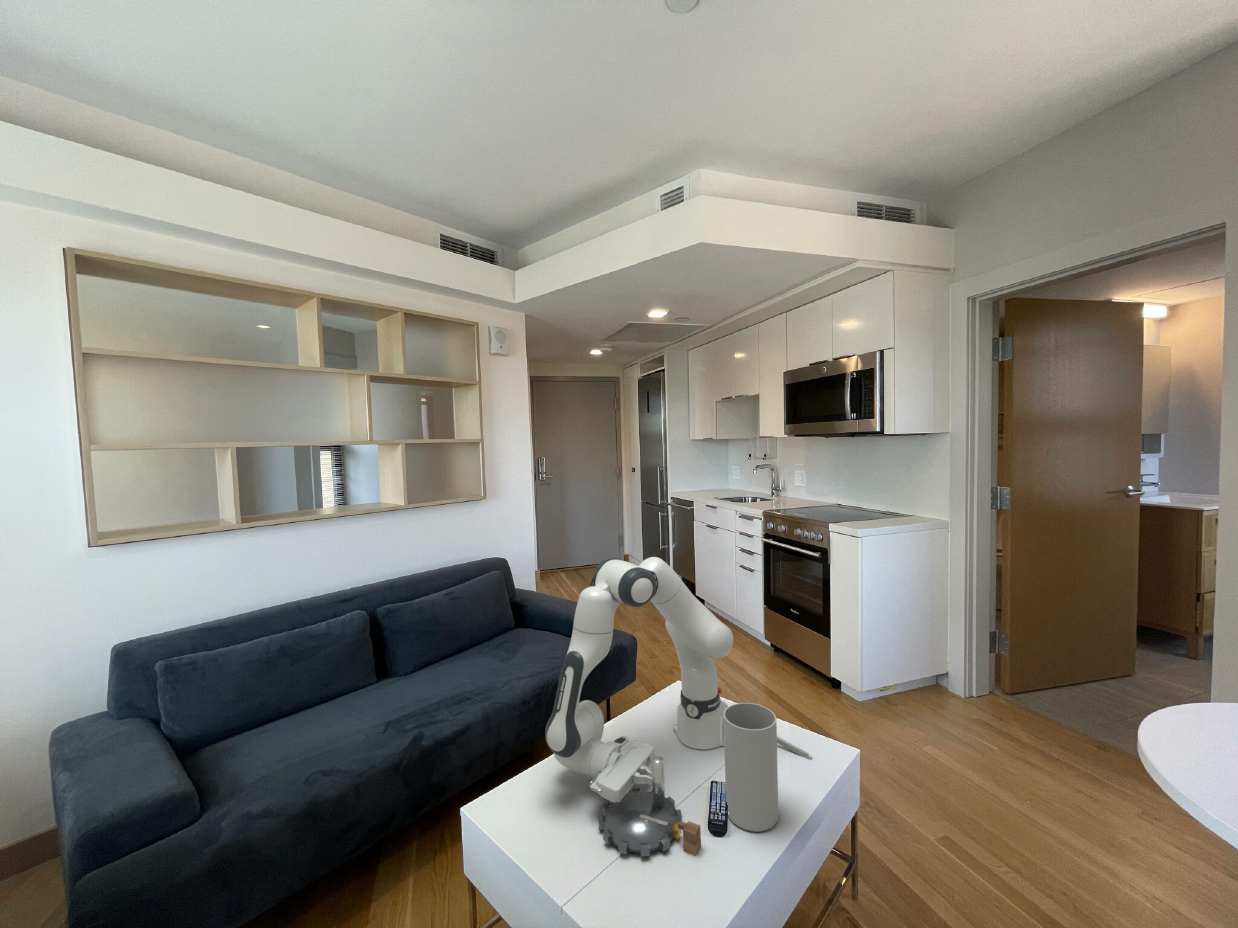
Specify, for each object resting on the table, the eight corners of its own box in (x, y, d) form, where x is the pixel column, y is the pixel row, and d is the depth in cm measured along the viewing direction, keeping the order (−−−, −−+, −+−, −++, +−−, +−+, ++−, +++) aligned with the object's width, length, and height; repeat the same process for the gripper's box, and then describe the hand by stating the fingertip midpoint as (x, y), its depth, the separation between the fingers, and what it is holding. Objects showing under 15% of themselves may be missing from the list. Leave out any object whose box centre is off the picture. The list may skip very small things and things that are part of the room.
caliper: (745, 736, 161) (744, 717, 161) (747, 735, 162) (746, 715, 162) (811, 760, 148) (811, 739, 148) (812, 758, 149) (812, 737, 149)
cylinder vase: (787, 811, 128) (785, 713, 127) (764, 842, 119) (761, 736, 118) (741, 790, 137) (739, 697, 136) (716, 816, 127) (713, 718, 126)
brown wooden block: (682, 838, 121) (681, 817, 121) (700, 846, 118) (700, 825, 118) (676, 847, 118) (675, 826, 118) (695, 855, 116) (695, 834, 116)
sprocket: (661, 786, 138) (660, 740, 137) (696, 840, 119) (694, 786, 118) (589, 806, 131) (587, 757, 131) (614, 866, 112) (612, 809, 112)
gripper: (584, 774, 128) (633, 792, 121) (626, 732, 146) (671, 746, 139) (585, 798, 129) (634, 818, 122) (627, 753, 146) (671, 768, 139)
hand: (654, 779), depth 130 cm, fingers closed, pressing on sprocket
